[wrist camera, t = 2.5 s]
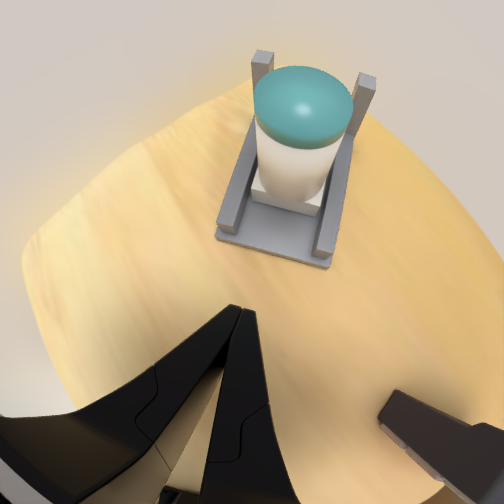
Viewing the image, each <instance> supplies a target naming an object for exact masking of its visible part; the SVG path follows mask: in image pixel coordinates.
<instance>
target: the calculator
mask: <svg viewBox="0 0 504 504" xmlns="http://www.w3.org/2000/svg"><path fill="white" fill-rule="evenodd" d="M378 419H379V420H380V421H381V422H382V424H381V426H380V428H381V429H382V430H383V431H384V432H385V433H386V434H387V435H388V436H389V437H390V438H391V439H392V440H393V441H394V442H395V443H396V444H397V445H398V446H399V447H401V448H403V449H405V450H406V451H405V452H406V453H407V454H408V455H409V456H410V457H411V458H412V459H413V460H414V461H415V462H416V463H417V464H418V465H419V466H421V467H422V468H423V469H424V470H425V471H426V472H427V473H428V474H429V475H430V476H431V477H432V478H434V479H435V480H437V481H441V482H443V483H444V484H445V485H447V486H448V487H449V488H450V489H451V490H452V491H454V492H455V493H456V494H457V495H458V496H459V497H461V498H462V499H463V500H464V501H465V502H467V503H468V504H504V430H501V429H499V428H496V427H494V426H492V425H489V424H487V423H479V424H476V425H473V426H471V425H469V424H467V423H465V422H463V421H461V420H459V419H457V418H454V417H452V416H450V415H448V414H446V413H444V412H442V411H439V410H437V409H435V408H433V407H431V406H429V405H427V404H425V403H423V402H421V401H419V400H417V399H415V398H413V397H411V396H409V395H407V394H405V393H403V392H401V391H399V390H396V391H395V392H394V394H393V395H392V397H391V399H390V400H389V402H388V403H387V405H386V406H385V408H384V409H383V411H382V412H381V414H380V415H379V417H378Z"/></svg>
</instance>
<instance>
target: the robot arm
mask: <svg viewBox="0 0 504 504" xmlns="http://www.w3.org/2000/svg"><path fill="white" fill-rule="evenodd" d="M223 371H224V372H223ZM222 373H223V377H222V382H221V387H220V392H219V397H218V402H217V407H216V412H215V417H214V423H213V428H212V433H211V438H210V443H209V448H208V453H207V459H206V464H205V469H204V474H203V479H202V484H201V489H200V494H199V496H197V495H193V494H190V493H186V492H183V491H180V490H177V489H173V488H170V487H167V486H164V485H165V483H166V481H167V480H168V478H169V476H170V474H171V472H172V470H173V468H174V467H175V465H176V463H177V461H178V459H179V457H180V455H181V454H182V452H183V450H184V448H185V446H186V444H187V442H188V440H189V438H190V436H191V435H192V433H193V431H194V429H195V427H196V425H197V423H198V421H199V419H200V417H201V415H202V413H203V411H204V409H205V407H206V405H207V403H208V402H209V400H210V398H211V396H212V394H213V392H214V390H215V388H216V386H217V384H218V382H219V380H220V378H221V376H222ZM165 490H167V491H168V492H167V491H165ZM159 494H160V498H159V504H301V503H300V502H299V500H298V498H297V496H296V494H295V492H294V489H293V487H292V484H291V482H290V479H289V476H288V473H287V470H286V467H285V464H284V461H283V458H282V455H281V451H280V448H279V445H278V441H277V438H276V434H275V430H274V425H273V420H272V415H271V408H270V404H269V396H268V390H267V383H266V377H265V370H264V364H263V357H262V351H261V344H260V337H259V331H258V324H257V318H256V312H255V311H253V310H250V309H246V308H243V309H242V308H241V307H239V306H236V305H232V304H229V305H228V306H227V307H225V308H224V309H223V310H222V311H220V312H219V313H218V314H217V315H215V316H214V317H213V318H212V319H210V320H209V321H208V322H207V323H205V324H204V325H203V326H202V327H200V328H199V329H198V330H197V331H195V332H194V333H193V334H192V335H190V336H189V337H188V338H187V339H185V340H184V341H183V342H181V343H180V344H179V345H178V346H176V347H175V348H174V349H173V350H171V351H170V352H169V353H167V354H166V355H165V356H164V357H162V358H161V359H160V360H158V361H157V362H156V363H155V364H154V366H153V365H152V366H150V367H149V368H148V369H147V370H145V371H144V372H143V373H141V374H140V375H138V376H137V377H136V378H134V379H133V380H131V381H130V382H128V383H127V384H125V385H123V386H122V387H120V388H118V389H117V390H115V391H113V392H111V393H110V394H108V395H106V396H104V397H102V398H101V399H99V400H97V401H95V402H93V403H91V404H89V405H88V406H86V407H84V408H82V409H80V410H77V411H75V412H71V413H68V414H62V415H52V416H41V417H40V416H39V417H20V418H9V417H4V416H2V415H1V414H0V504H154V503H155V501H156V500H157V498H158V496H159Z"/></svg>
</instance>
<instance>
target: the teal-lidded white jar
mask: <svg viewBox="0 0 504 504" xmlns="http://www.w3.org/2000/svg"><path fill="white" fill-rule="evenodd" d="M253 96H254V110H255V125H256V140H257V155H258V168H257V171H256V174H255V177H254V180H253V183H252V186H251V194H252V201H256V202H260V203H264V204H268V205H271V206H275V207H279V208H283V209H287V210H291V211H294V212H298V213H302V214H305V215H309V216H313V217H315V216H316V214H317V212H318V210H319V208H320V205H321V200H322V196H323V191H324V186H325V182H326V177H327V175H328V172H329V170H330V168H331V165H332V163H333V160H334V158H335V156H336V153H337V151H338V148H339V146H340V143H341V141H342V139H343V136H344V134H345V131H346V129H347V126H348V124H349V121H350V119H351V116H352V113H353V100H352V97H351V95H350V93H349V91H348V90H347V88H346V87H345V86H344V85H343V84H342V83H341V82H340V81H339V80H338V79H336V78H335V77H333V76H332V75H330V74H328V73H326V72H324V71H321V70H318V69H315V68H312V67H306V66H287V67H282V68H278V69H275V70H273V71H271V72H269V73H267V74H266V75H264V76H263V77H262V78H261V79H260V80H259V82H258V83H257V85H256V86H255V89H254V95H253Z"/></svg>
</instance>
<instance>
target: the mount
mask: <svg viewBox="0 0 504 504" xmlns="http://www.w3.org/2000/svg"><path fill="white" fill-rule="evenodd" d="M251 66H252V80H253V94H254V89H255V86H256V85H257V83H258V82H259V80H260V79H261V78H262V77H263V76H264V75H266V74H267V73H269V72H271V71H273V70H274V52H269V51H262V50H257V51H256V53H255V55H254V57H253V59H252V61H251ZM375 91H376V77H373V76H370V75H367V74H364V73H361V72H359V75H358V78H357V81H356V84H355V87H354V90H353V92H352V95H351V97H352V100H353V113H352V116H351V119H350V121H349V124H348V126H347V129H346V131H345V134H344V136H343V139H342V141H341V143H340V146H339V148H338V151H337V153H336V156H335V158H334V160H333V163H332V165H331V168H330V170H329V172H328V175H327V177H326V182H325V186H324V191H323V196H322V200H321V205H320V208H319V210H318V212H317V214H316V216H315V217H313V216H309V215H305V214H302V213H298V212H294V211H291V210H287V209H283V208H279V207H275V206H271V205H268V204H264V203H260V202H256V201H252V194H251V186H252V183H253V180H254V177H255V174H256V171H257V168H258V155H257V140H256V125H255V115H254V117H253V120H252V123H251V125H250V128H249V130H248V133H247V136H246V138H245V141H244V144H243V147H242V149H241V152H240V155H239V158H238V160H237V163H236V166H235V169H234V171H233V174H232V177H231V180H230V183H229V186H228V189H227V191H226V194H225V197H224V200H223V203H222V206H221V209H220V212H219V215H218V218H217V221H216V223H217V225H218V227H217V230H216V234H215V238H216V239H217V240H220V241H224V242H227V243H231V244H235V245H238V246H242V247H246V248H249V249H253V250H257V251H261V252H264V253H268V254H272V255H275V256H279V257H283V258H286V259H290V260H294V261H297V262H301V263H305V264H308V265H312V266H316V267H319V268H323V269H328V268H330V264H331V260H332V255H333V253H334V249H335V244H336V240H337V235H338V230H339V225H340V220H341V215H342V209H343V204H344V199H345V193H346V187H347V181H348V175H349V169H350V162H351V155H352V148H353V141H354V138H355V136H356V133H357V131H358V129H359V127H360V125H361V122H362V120H363V118H364V116H365V114H366V111H367V109H368V107H369V105H370V102H371V100H372V98H373V96H374V93H375Z"/></svg>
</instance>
